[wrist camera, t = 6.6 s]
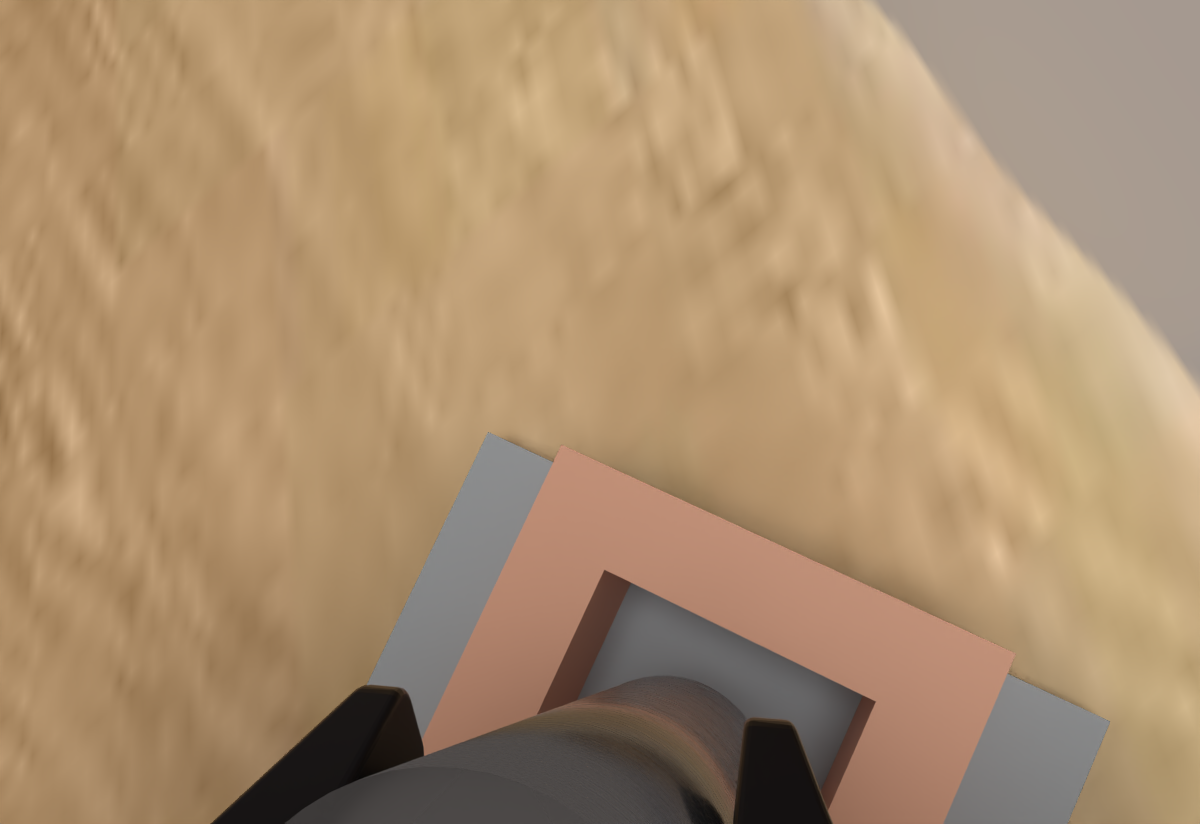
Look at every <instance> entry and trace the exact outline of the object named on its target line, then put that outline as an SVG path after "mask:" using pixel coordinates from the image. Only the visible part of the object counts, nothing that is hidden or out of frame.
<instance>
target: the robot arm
mask: <svg viewBox="0 0 1200 824" xmlns="http://www.w3.org/2000/svg"><path fill="white" fill-rule="evenodd" d="M423 756H424V747H423V742H422V738H421V735H420V731H419V727H418V724H417V720H416V716H415V713H414V709H413V705H412V702H411V698H410V696H409V694H408V693H407V691H406V690H405V689H403V688H400V687H392V686H381V685H364V686H362V687H360V688H358V689H356V690H355V691H354V692H353V693H352V694H350V695H349V696H348V697H347V698H346V699H345V700H344V701H343V702H342V703H341V704H340V705H339V706H337V707H336V708H335V709H334V710H333V711H332V712H331V713H330V714H329V715H328V716H327V717H326V718H325V719H323V720H322V721H321V722H320V723H319V724H318V725H317V726H316V727H315V728H314V729H313V730H312V731H310V732H309V733H308V734H307V735H306V736H305V737H304V738H303V739H302V740H301V741H300V742H299V743H297V744H296V745H295V746H294V747H293V748H292V749H291V750H290V751H289V752H288V753H287V754H286V755H284V756H283V757H282V758H281V759H280V760H279V761H278V762H277V763H276V764H275V765H274V766H273V767H272V768H270V769H269V770H268V771H267V772H266V773H265V774H264V775H263V776H262V777H261V778H260V779H259V780H257V781H256V782H255V783H254V784H253V785H252V786H251V787H250V788H249V789H248V790H247V791H246V792H244V793H243V794H242V795H241V796H240V797H239V798H238V799H237V800H236V801H235V802H234V803H233V804H231V805H230V806H229V807H228V808H227V809H226V810H225V811H224V812H223V813H222V814H221V815H220V816H218V817H217V818H216V819H215V820H214V821H213V822H212V823H211V824H285V823H286V822H287V821H289V820H290V819H291V818H292V817H293V816H295V815H296V814H297V813H298V812H300V811H301V810H302V809H303V808H305V807H307V806H308V805H310V804H312V803H313V802H315V801H317V800H318V799H320V798H322V797H323V796H325V795H326V794H328V793H330V792H332V791H334V790H336V789H339V788H341V787H343V786H346V785H348V784H350V783H352V782H355V781H357V780H359V779H362V778H365V777H368V776H370V775H373V774H376V773H379V772H381V771H384V770H387V769H390V768H392V767H395V766H398V765H401V764H403V763H406V762H409V761H412V760H414V759H417V758H420V757H423ZM733 824H833V822H832V820H831V817H830V815H829V812H828V809H827V807H826V804H825V801H824V799H823V796H822V794H821V791H820V788H819V786H818V783H817V781H816V778H815V775H814V773H813V770H812V768H811V765H810V762H809V760H808V757H807V755H806V752H805V749H804V747H803V744H802V741H801V739H800V736H799V734H798V731H797V729H796V727H795V726H794V724H793V723H792V722H790V721H789V720H784V719H772V718H760V717H751V718H749V719H747V720H746V721H745V723H744V727H743V734H742V743H741V753H740V762H739V771H738V780H737V789H736V798H735V807H734V816H733Z"/></svg>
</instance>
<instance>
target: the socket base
mask: <svg viewBox="0 0 1200 824" xmlns="http://www.w3.org/2000/svg"><path fill="white" fill-rule="evenodd" d="M1015 655H1016V653H1014V652H1011V651H1009V650H1007V649H1005V648H1003V647H1001V646H998V645H996V644H994V643H992V642H990V641H988V640H985V639H983V638H981V637H979V636H977V635H974V634H972V633H970V632H968V631H966V630H964V629H961V628H959V627H957V626H955V625H953V624H951V623H948V622H946V621H944V620H942V619H940V618H938V617H935V616H933V615H931V614H929V613H927V612H924V611H922V610H920V609H918V608H916V607H914V606H911V605H909V604H907V603H905V602H903V601H901V600H898V599H896V598H894V597H892V596H890V595H887V594H885V593H883V592H881V591H879V590H877V589H874V588H872V587H870V586H868V585H866V584H864V583H861V582H859V581H857V580H855V579H853V578H850V577H848V576H846V575H844V574H842V573H840V572H837V571H835V570H833V569H831V568H829V567H827V566H824V565H822V564H820V563H818V562H816V561H814V560H811V559H809V558H807V557H805V556H803V555H800V554H798V553H796V552H794V551H792V550H790V549H787V548H785V547H783V546H781V545H779V544H777V543H774V542H772V541H770V540H768V539H766V538H763V537H761V536H759V535H757V534H755V533H753V532H750V531H748V530H746V529H744V528H742V527H740V526H737V525H735V524H733V523H731V522H729V521H727V520H724V519H722V518H720V517H718V516H716V515H713V514H711V513H709V512H707V511H705V510H703V509H700V508H698V507H696V506H694V505H692V504H690V503H687V502H685V501H683V500H681V499H679V498H676V497H674V496H672V495H670V494H668V493H666V492H663V491H661V490H659V489H657V488H655V487H653V486H650V485H648V484H646V483H644V482H642V481H639V480H637V479H635V478H633V477H631V476H629V475H626V474H624V473H622V472H620V471H618V470H616V469H613V468H611V467H609V466H607V465H605V464H603V463H600V462H598V461H596V460H594V459H592V458H589V457H587V456H585V455H583V454H581V453H579V452H576V451H574V450H572V449H570V448H568V447H566V446H563V445H561V447H560V449H559V451H558V453H557V455H556V457H555V459H554V462H551V461H549V460H547V459H545V458H543V457H541V456H539V455H536V454H534V453H532V452H530V451H528V450H526V449H523V448H521V447H519V446H517V445H515V444H513V443H511V442H508V441H506V440H504V439H502V438H500V437H498V436H496V435H493V434H491V433H489V432H488V433H487V436H486V438H485V440H484V442H483V444H482V446H481V448H480V450H479V452H478V454H477V456H476V458H475V461H474V463H473V465H472V467H471V469H470V471H469V473H468V475H467V477H466V479H465V481H464V483H463V486H462V488H461V490H460V492H459V494H458V496H457V498H456V500H455V502H454V504H453V506H452V508H451V511H450V513H449V515H448V517H447V519H446V521H445V523H444V525H443V527H442V529H441V531H440V533H439V536H438V538H437V540H436V542H435V544H434V546H433V548H432V550H431V552H430V554H429V556H428V558H427V561H426V563H425V565H424V567H423V569H422V571H421V573H420V575H419V577H418V579H417V581H416V583H415V586H414V588H413V590H412V592H411V594H410V596H409V598H408V600H407V602H406V604H405V606H404V608H403V611H402V613H401V615H400V617H399V619H398V621H397V623H396V625H395V627H394V629H393V631H392V633H391V636H390V638H389V640H388V642H387V644H386V646H385V648H384V650H383V652H382V654H381V656H380V658H379V661H378V663H377V665H376V667H375V669H374V671H373V673H372V675H371V677H370V679H369V681H368V683H367V685H381V686H392V687H400V688H403V689H405V690H406V691H407V693H408V694H409V696H410V698H411V702H412V705H413V709H414V713H415V716H416V720H417V724H418V727H419V731H420V735H421V738H422V742H423V747H424V756H425V755H428V754H431V753H434V752H436V751H439V750H442V749H445V748H447V747H450V746H453V745H456V744H458V743H461V742H464V741H467V740H469V739H472V738H475V737H478V736H480V735H483V734H486V733H489V732H491V731H494V730H497V729H500V728H502V727H505V726H508V725H511V724H513V723H516V722H519V721H522V720H524V719H527V718H530V717H533V716H535V715H538V714H541V713H544V712H546V711H549V710H552V709H554V708H557V707H560V706H563V705H565V704H568V703H571V702H574V701H576V700H579V699H582V698H585V697H587V696H590V695H593V694H596V693H598V692H601V691H604V690H607V689H609V688H612V687H615V686H618V685H620V684H623V683H626V682H629V681H632V680H635V679H639V678H643V677H649V676H677V677H684V678H687V679H691V680H695V681H697V682H700V683H702V684H704V685H707V686H709V687H711V688H712V689H714V690H716V691H718V692H719V693H721V694H722V695H723V696H725V697H726V698H727V699H729V700H730V701H731V702H732V703H733V704H734V705H735V706H736V707H737V708H738V709H739V710H740V711H741V712H742V713H743V714H744V716H745V717H746V718H747V719H749V718H751V717H760V718H772V719H784V720H789V721H790V722H792V723H793V724H794V726H795V727H796V729H797V731H798V734H799V736H800V739H801V741H802V744H803V747H804V749H805V752H806V755H807V757H808V760H809V762H810V765H811V768H812V770H813V773H814V775H815V778H816V781H817V783H818V786H819V788H820V791H821V794H822V796H823V799H824V801H825V804H826V807H827V809H828V812H829V815H830V817H831V820H832V822H833V824H1068V821H1069V819H1070V816H1071V814H1072V812H1073V809H1074V807H1075V804H1076V802H1077V800H1078V797H1079V795H1080V793H1081V790H1082V788H1083V785H1084V783H1085V781H1086V778H1087V776H1088V773H1089V771H1090V769H1091V766H1092V764H1093V762H1094V759H1095V757H1096V754H1097V752H1098V750H1099V747H1100V745H1101V742H1102V740H1103V738H1104V735H1105V733H1106V731H1107V728H1108V726H1109V723H1110V721H1108V720H1106V719H1104V718H1102V717H1100V716H1097V715H1095V714H1093V713H1091V712H1089V711H1087V710H1085V709H1082V708H1080V707H1078V706H1076V705H1074V704H1072V703H1069V702H1067V701H1065V700H1063V699H1061V698H1059V697H1057V696H1054V695H1052V694H1050V693H1048V692H1046V691H1044V690H1042V689H1039V688H1037V687H1035V686H1033V685H1031V684H1029V683H1026V682H1024V681H1022V680H1020V679H1018V678H1016V677H1014V676H1011V675H1009V674H1008V671H1009V669H1010V667H1011V664H1012V662H1013V660H1014V658H1015Z"/></svg>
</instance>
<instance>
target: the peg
mask: <svg viewBox="0 0 1200 824" xmlns="http://www.w3.org/2000/svg"><path fill="white" fill-rule="evenodd" d="M746 720H747V718H746V717H745V716H744V714H743V713H742V712H741V711H740V710H739V709H738V708H737V707H736V706H735V705H734V704H733V703H732V702H731V701H730V700H729V699H727V698H726V697H725V696H723V695H722V694H721V693H719V692H718V691H716V690H714V689H712V688H711V687H709V686H707V685H704V684H702V683H700V682H697V681H695V680H691V679H687V678H684V677H677V676H649V677H643V678H639V679H635V680H632V681H629V682H626V683H623V684H620V685H618V686H615V687H612V688H609V689H607V690H604V691H601V692H598V693H596V694H593V695H590V696H587V697H585V698H582V699H579V700H576V701H574V702H571V703H568V704H565V705H563V706H560V707H557V708H554V709H552V710H549V711H546V712H544V713H541V714H538V715H535V716H533V717H530V718H527V719H524V720H522V721H519V722H516V723H513V724H511V725H508V726H505V727H502V728H500V729H497V730H494V731H491V732H489V733H486V734H483V735H480V736H478V737H475V738H472V739H469V740H467V741H464V742H461V743H458V744H456V745H453V746H450V747H447V748H445V749H442V750H439V751H436V752H434V753H431V754H428V755H425V756H423V757H420V758H417V759H414V760H412V761H409V762H406V763H403V764H401V765H398V766H395V767H392V768H390V769H387V770H384V771H381V772H379V773H376V774H373V775H370V776H368V777H365V778H362V779H359V780H357V781H355V782H352V783H350V784H348V785H346V786H343V787H341V788H339V789H336V790H334V791H332V792H330V793H328V794H326V795H325V796H323V797H322V798H320V799H318V800H317V801H315V802H313V803H312V804H310V805H308V806H307V807H305V808H303V809H302V810H301V811H300V812H298V813H297V814H296V815H295V816H293V817H292V818H291V819H290V820H289V821H287V822H286V823H285V824H733V816H734V807H735V798H736V789H737V780H738V771H739V762H740V753H741V743H742V734H743V727H744V723H745V721H746Z"/></svg>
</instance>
